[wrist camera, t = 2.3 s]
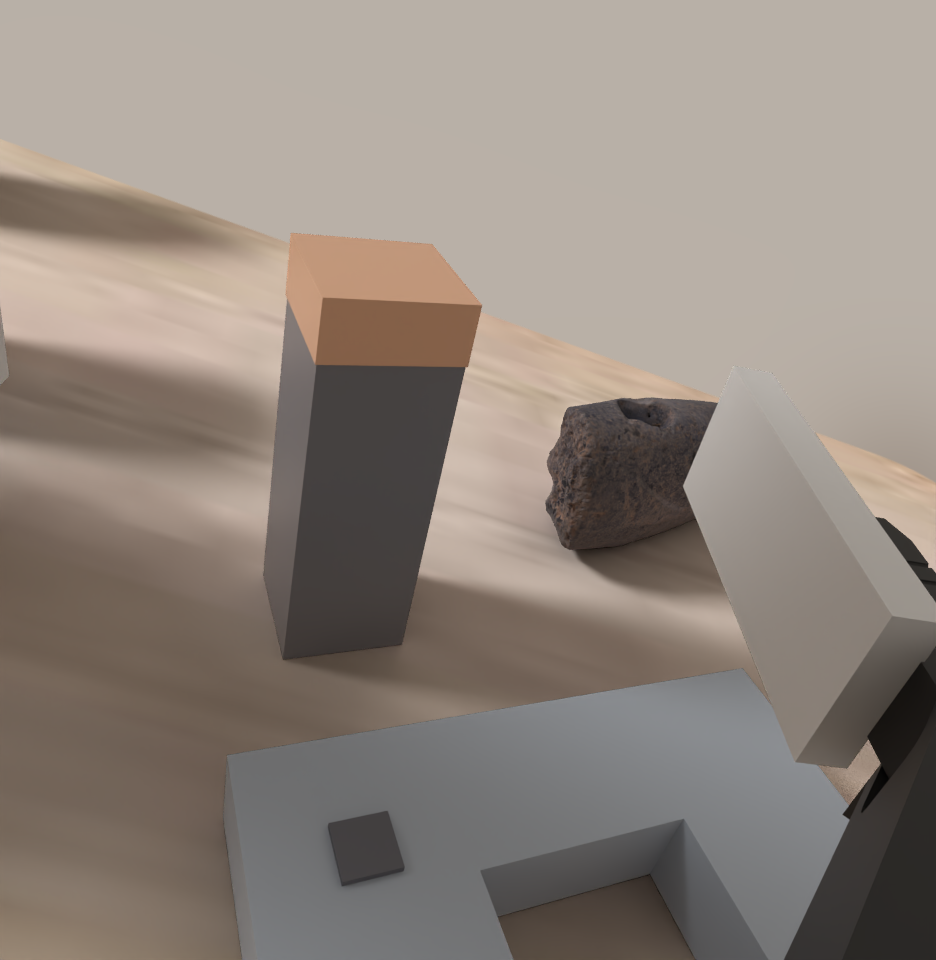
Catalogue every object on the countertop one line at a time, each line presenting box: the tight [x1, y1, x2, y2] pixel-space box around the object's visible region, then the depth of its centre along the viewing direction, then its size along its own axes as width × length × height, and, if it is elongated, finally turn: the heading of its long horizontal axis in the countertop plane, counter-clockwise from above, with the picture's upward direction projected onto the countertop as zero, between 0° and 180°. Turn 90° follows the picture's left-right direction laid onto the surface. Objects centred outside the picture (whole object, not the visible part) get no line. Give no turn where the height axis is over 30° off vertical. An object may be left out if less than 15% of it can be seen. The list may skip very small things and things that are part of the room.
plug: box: [263, 233, 482, 659], centre depth 28 cm, size 5×5×14 cm
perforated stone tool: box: [545, 398, 718, 550], centre depth 39 cm, size 15×5×7 cm, turn 120°
